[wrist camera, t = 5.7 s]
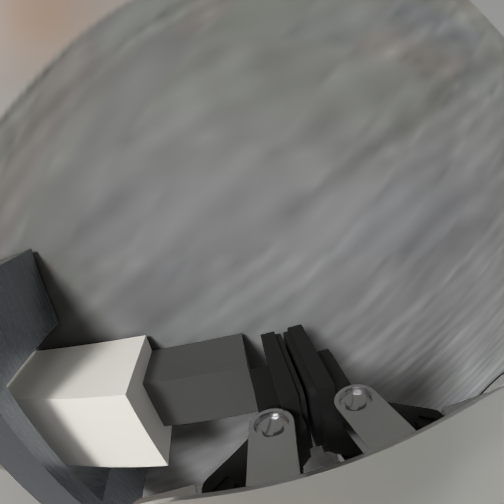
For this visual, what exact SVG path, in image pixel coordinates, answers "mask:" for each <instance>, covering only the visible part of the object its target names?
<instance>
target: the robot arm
mask: <svg viewBox="0 0 504 504" xmlns="http://www.w3.org/2000/svg"><path fill="white" fill-rule="evenodd" d="M261 339H262V343H263V347H264V352H265V356H266V360H267V364H268V365H267V366H263V367H259V368H255V369H251V370H250V374H251V379H252V384H253V388H254V393H255V398H256V403H257V408H258V414H257V415H255V416H254V417H253V418H252V420H251V421H250V424H249V434H248V439H247V440H246V442H245V443H244V444H243V445H242V446H241V447H240V448H239V449H238V450H237V451H236V452H235V453H234V454H233V455H232V456H231V457H230V458H229V459H227V460H226V461H225V462H224V463H223V464H222V465H221V466H220V467H219V468H218V469H217V470H216V471H215V472H214V473H213V474H212V475H211V476H210V477H208V478H207V480H206V481H205V482H204V484H203V485H200V486H197V487H195V486H194V485H190V486H187V487H183V488H179V489H175V490H172V491H168V492H163V493H159V494H155V495H150V496H146V497H142V498H140V499H137V500H136V501H135V502H134V503H133V504H504V373H503V374H502V375H501V376H500V377H499V378H498V379H497V380H495V381H494V382H493V383H492V384H491V385H490V386H489V387H488V388H487V389H486V390H485V391H484V392H483V393H482V394H481V395H478V396H476V397H473V398H470V399H467V400H465V401H462V402H459V403H456V404H453V405H450V406H447V407H444V408H443V409H442V411H440V412H439V411H437V410H433V409H427V408H420V407H414V406H407V405H401V404H395V403H389V402H386V401H385V400H384V399H383V398H382V397H381V396H380V395H379V394H378V393H377V392H376V391H375V390H374V389H372V388H371V387H370V386H367V385H362V384H355V385H351V384H350V382H349V381H348V379H347V378H346V376H345V374H344V373H343V371H342V370H341V368H340V366H339V365H338V363H337V362H336V360H335V358H334V357H333V355H332V354H331V352H330V351H329V349H325V350H322V351H319V352H316V350H315V348H314V347H313V345H312V343H311V341H310V339H309V338H308V336H307V334H306V332H305V331H304V329H303V327H302V325H301V324H300V325H297V326H293V327H289V328H288V332H284V339H285V345H286V347H285V345H284V342H283V340H282V338H281V335H280V334H276V335H275V333H274V332H270V333H266V334H262V335H261ZM310 431H311V432H310ZM311 434H312V436H313V439H314V441H315V444H316V446H320V445H322V447H323V450H324V452H327V451H330V452H333V453H336V454H337V456H338V459H339V460H340V462H339V463H336V464H333V465H330V466H327V467H324V468H321V469H317V470H314V471H310V472H307V473H304V468H303V466H304V465H305V463H306V462H307V461H308V459H309V458H310V457H311V454H310V448H313V446H312V439H311Z"/></svg>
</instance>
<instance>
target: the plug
mask: <svg viewBox="0 0 504 504" xmlns="http://www.w3.org/2000/svg"><path fill="white" fill-rule="evenodd" d="M250 370H251V369H250V365H249V361H248V358H247V354H246V350H245V346H244V342H243V338H242V334H236V335H231V336H227V337H222V338H217V339H212V340H207V341H202V342H197V343H192V344H186V345H181V346H175V347H170V348H164V349H158V350H152V349H151V347H150V344H149V342H148V339H147V337H146V335H144V336H138V337H132V338H126V339H120V340H114V341H107V342H101V343H94V344H87V345H80V346H73V347H66V348H58V349H50V350H41V351H34V352H33V353H32V354H31V355H30V357H29V358H28V359H27V360H26V361H25V363H24V364H23V365H22V366H21V368H20V369H19V370H18V371H17V373H16V374H15V375H14V377H13V378H12V379H11V380H10V382H9V383H8V384H7V388H8V390H9V391H10V393H11V394H12V396H13V397H14V399H15V401H16V402H17V404H18V405H19V407H20V408H21V409H22V411H23V412H24V414H25V415H26V417H27V418H28V419H29V421H30V422H31V423H32V425H33V426H34V427H35V429H36V430H37V431H38V433H39V434H40V435H41V437H42V438H43V439H44V440H45V442H46V443H47V444H48V445H49V447H50V448H51V449H52V450H53V451H54V453H55V454H56V455H57V456H58V457H59V458H60V460H61V461H62V462H63V463H64V464H65V465H77V466H93V467H154V466H168V462H169V452H170V441H171V432H172V425H180V424H188V423H195V422H202V421H209V420H215V419H221V418H226V417H232V416H237V415H242V414H247V413H252V412H257V411H258V408H257V403H256V398H255V393H254V388H253V384H252V379H251V374H250Z"/></svg>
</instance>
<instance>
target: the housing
mask: <svg viewBox="0 0 504 504" xmlns="http://www.w3.org/2000/svg"><path fill="white" fill-rule="evenodd" d="M58 322H59V321H58V318H57V316H56V314H55V311H54V309H53V307H52V304H51V302H50V299H49V297H48V294H47V292H46V289H45V287H44V284H43V282H42V279H41V276H40V273H39V271H38V268H37V265H36V262H35V259H34V256H33V253H32V250H31V249H29V250H26V251H24V252H21V253H18V254H15V255H13V256H10V257H8V258H5V259H2V260H0V464H1V465H2V466H3V467H4V468H5V469H6V470H7V471H8V472H9V473H10V474H11V476H13V477H14V479H15V480H16V481H17V482H18V483H20V484H21V485H22V487H24V488H25V489H26V490H27V491H28V492H29V493H30V494H31V495H32V496H33V497H34V498H35V499H37V500H38V501H39V502H40V503H41V504H133V503H134V502H135V501H136V500H137V499H140V498H142V495H143V487H144V480H145V473H146V467H93V466H77V465H65V464H64V463H63V462H62V461H61V460H60V458H59V457H58V456H57V455H56V454H55V453H54V451H53V450H52V449H51V448H50V447H49V445H48V444H47V443H46V442H45V440H44V439H43V438H42V437H41V435H40V434H39V433H38V431H37V430H36V429H35V427H34V426H33V425H32V423H31V422H30V421H29V419H28V418H27V417H26V415H25V414H24V412H23V411H22V409H21V408H20V407H19V405H18V404H17V402H16V401H15V399H14V397H13V396H12V394H11V393H10V391H9V390H8V388H7V384H8V383H9V382H10V380H11V379H12V378H13V377H14V375H15V374H16V373H17V371H18V370H19V369H20V368H21V366H22V365H23V364H24V363H25V361H26V360H27V359H28V358H29V357H30V355H31V354H32V353H33V352H34V350H35V349H36V348H37V347H38V346H39V345H40V343H41V342H42V341H43V340H44V339H45V337H46V336H47V335H48V334H49V333H50V332H51V330H52V329H53V328H54V327H55V326H56V325H57V324H58Z"/></svg>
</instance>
